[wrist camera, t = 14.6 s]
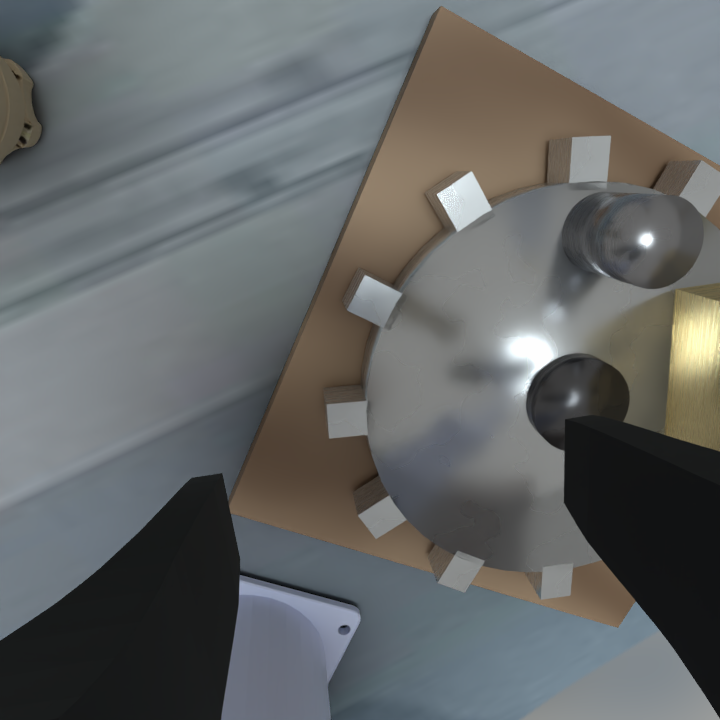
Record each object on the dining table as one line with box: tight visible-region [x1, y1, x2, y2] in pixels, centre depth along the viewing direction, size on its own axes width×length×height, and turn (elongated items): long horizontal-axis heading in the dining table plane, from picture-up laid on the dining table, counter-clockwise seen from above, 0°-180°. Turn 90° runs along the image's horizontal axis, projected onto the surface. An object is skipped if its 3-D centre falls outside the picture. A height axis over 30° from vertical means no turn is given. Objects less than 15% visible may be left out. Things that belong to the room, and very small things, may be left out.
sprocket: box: [323, 136, 720, 600], centre depth 18 cm, size 16×16×4 cm
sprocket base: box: [228, 6, 720, 628], centre depth 21 cm, size 18×18×1 cm
